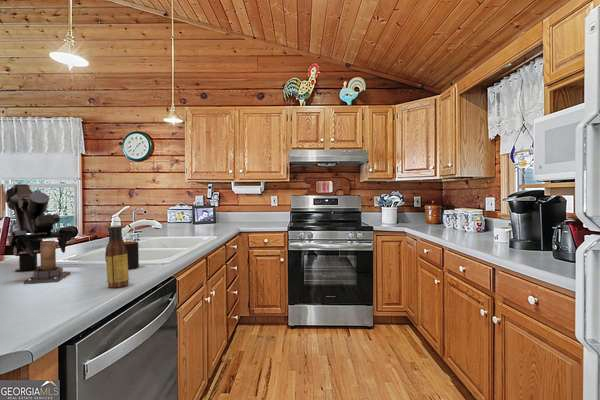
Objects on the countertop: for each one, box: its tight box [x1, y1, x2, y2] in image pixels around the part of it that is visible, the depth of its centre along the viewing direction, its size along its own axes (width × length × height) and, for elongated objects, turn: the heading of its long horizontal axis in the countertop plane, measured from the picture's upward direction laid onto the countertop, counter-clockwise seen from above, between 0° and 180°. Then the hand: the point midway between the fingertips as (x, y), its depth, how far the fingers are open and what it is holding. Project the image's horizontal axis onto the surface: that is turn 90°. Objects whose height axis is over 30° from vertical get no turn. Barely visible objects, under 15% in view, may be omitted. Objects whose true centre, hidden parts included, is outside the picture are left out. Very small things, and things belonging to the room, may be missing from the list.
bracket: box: [23, 266, 71, 285], centre depth 124 cm, size 12×10×4 cm
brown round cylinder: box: [39, 240, 57, 271], centre depth 124 cm, size 4×4×12 cm
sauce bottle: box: [105, 225, 130, 289], centre depth 114 cm, size 7×6×20 cm
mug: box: [104, 240, 140, 271], centre depth 141 cm, size 8×12×10 cm
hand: (49, 254), depth 123 cm, fingers open, 9 cm apart
